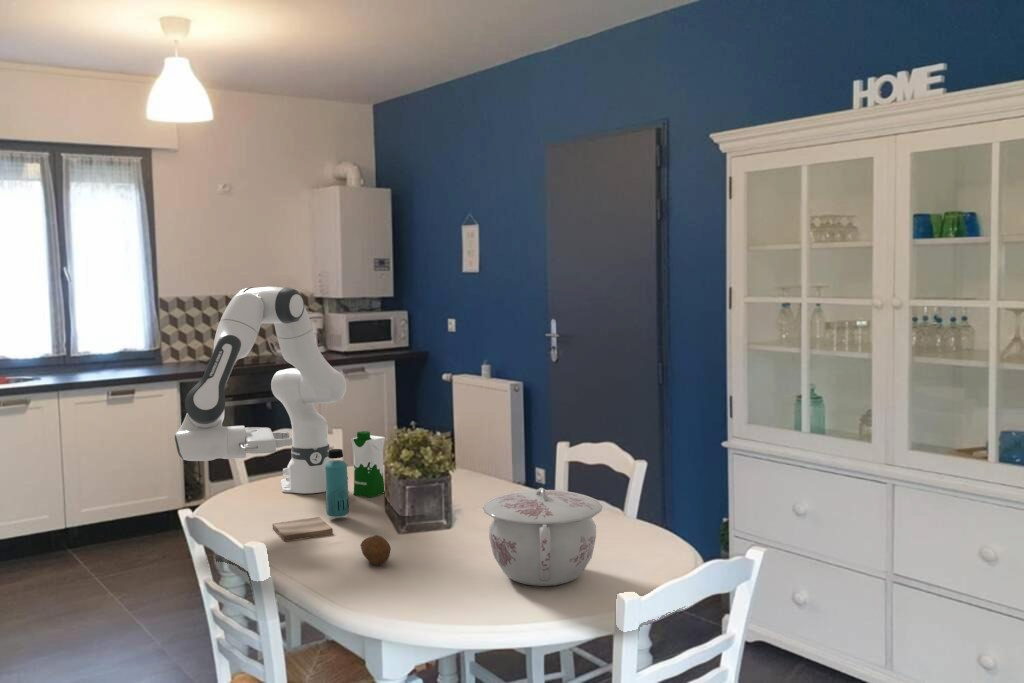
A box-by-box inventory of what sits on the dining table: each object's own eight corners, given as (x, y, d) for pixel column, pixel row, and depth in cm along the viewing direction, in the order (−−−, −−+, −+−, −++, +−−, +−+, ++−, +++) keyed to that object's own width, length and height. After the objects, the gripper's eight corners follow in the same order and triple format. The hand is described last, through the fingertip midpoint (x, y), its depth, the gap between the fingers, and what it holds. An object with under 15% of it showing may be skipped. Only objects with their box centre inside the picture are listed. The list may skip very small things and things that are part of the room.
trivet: (272, 528, 248) (272, 523, 248) (319, 522, 254) (319, 516, 254) (284, 541, 236) (284, 535, 236) (332, 534, 242) (332, 528, 242)
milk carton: (349, 495, 282) (347, 432, 281) (368, 489, 290) (367, 427, 288) (370, 499, 278) (369, 435, 276) (389, 492, 285) (388, 430, 284)
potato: (378, 554, 225) (378, 527, 224) (401, 566, 216) (400, 538, 215) (353, 560, 221) (353, 532, 220) (375, 572, 212) (374, 543, 211)
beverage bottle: (337, 523, 252) (334, 452, 250) (321, 519, 256) (318, 450, 254) (354, 518, 257) (352, 448, 256) (338, 514, 261) (336, 446, 260)
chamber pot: (532, 549, 227) (531, 468, 225) (626, 572, 210) (625, 484, 208) (457, 581, 205) (455, 491, 204) (553, 609, 188) (553, 511, 186)
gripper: (239, 437, 236) (293, 433, 240) (237, 424, 255) (287, 421, 260) (240, 460, 237) (294, 456, 241) (237, 446, 256) (287, 443, 260)
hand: (290, 438), depth 251 cm, fingers open, 8 cm apart
